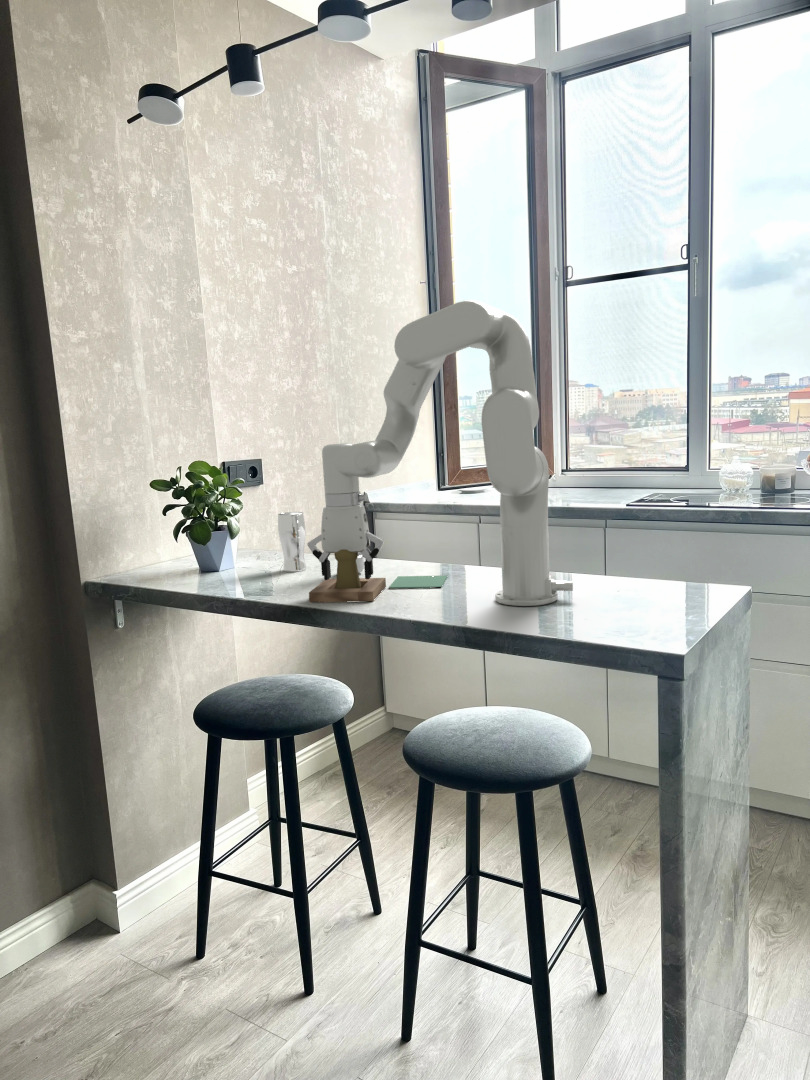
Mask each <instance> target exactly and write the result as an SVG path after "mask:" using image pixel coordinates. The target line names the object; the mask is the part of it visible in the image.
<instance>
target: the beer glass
mask: <svg viewBox="0 0 810 1080" xmlns="http://www.w3.org/2000/svg"><path fill="white" fill-rule="evenodd" d="M277 529H278V530H277V531H278V538H279V542H280V546H281V550H282V554H283V567H282V569H283V570H282V571H283V572H286V573H296V572H303V571H306V570H307V565H306V561H305V542H306V524H305V517H304V512H303V511H288V512H280V513H278V514H277Z"/></svg>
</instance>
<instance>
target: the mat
mask: <svg viewBox="0 0 810 1080" xmlns="http://www.w3.org/2000/svg"><path fill="white" fill-rule="evenodd" d="M432 576H434V577H432ZM447 576H448V575H447V574H446V575H412V576H411V575H403V576H402V575H401V576H399V575H398V576H397V577H396V578H395V579H394V580H393V582H392V583H391V584H390V585H389V586H388V589H389V588H423V589H431V588H430V587H442V588H443V586H444V584H445V583H446V581H447V579H448V577H447ZM446 578H447V579H446ZM445 580H446V581H445ZM444 582H445V583H444ZM442 585H443V586H442Z"/></svg>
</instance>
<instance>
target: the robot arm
mask: <svg viewBox="0 0 810 1080" xmlns="http://www.w3.org/2000/svg"><path fill="white" fill-rule="evenodd" d="M393 345H394V352H395V355H396V357H397V359H398V360H397V362H396V364H395V366H394V369H393V370H392V373H391V375H389V377H388V380H387V382H386V384H385V386H384V388H383V398H384V402H385V406H386V410H385V411H386V412H385V417H384V420H383V424H382V425H381V428H380V430H379V432H378V434H377V436H376V438H375V440H370V441H369V440H368V441H364V442H359V443H354V444H353V443H346V442H345V443H344V442H343V443H332V444H330V443H329V444H326V445H324V447H323V448H322V449H321V456H322V470H323V471H322V473H323V486H324V500H325V501H324V502H325V506H324V507H323V509H322V515H321V528H320V529H321V530H320V532H321V533H320V534H319V535H318V536H316V537H315V538H314V539H313V538H312V539H311V540H310V541H308V542H307V547H308V548H309V550H310V552H311V553H312V555H313V556H314V557H315V558H316V559H318V561H319V563H320V565H321V566H320V568H321V576H322V577H323V578H324V579H323V581H324V580H328V579H331V578H332V571H331V561H330V560H329V557H330V555H331V554H334V553H336V552H338V551H339V550H342V549H346V550H348V551H350V552H353V553H355V552H360V553H361V554H362V556H363V559H365V560H364V569H363V570H364V578H365V579H369V578H372V576H373V575H374V564H373V563H374V561H373V559H374V558H375V557H376V556H377V555H378V554H379V553H380V552H381V550H382V547H383V546H384V543H385V540H384V539H382V538H380V537H379V536H377V535H375V534H373V533H371V532H370V529H369V522H368V516H367V513H366V508H365V505H362V502H364V501H365V502H366V501H367V494H363V493H361V491H360V483H359V482H360V481H359V478H365V479H366V478H367V479H368V478H370V479H371V478H376V477H378V476H379V477H380V476H383V475H386V474H390V473H392V472H393V471H394V470H395V469H396V468H397V467H398V466H399V465H400V463H401V461H402V459H403V458H404V455H405V453H406V452H407V450H408V448H409V446H410V444H411V442H412V439H413V437H414V434H415V431H416V428H417V425H418V421H419V418H420V411H421V408H422V406H423V404H424V402H425V400H426V398H427V396H428V393H429V392H430V390H431V388H432V386H433V384H434V382H435V381H436V378H437V376H438V374H439V373H440V371H441V368H442V366H443V365H444V363H445V360H446V358H447V356H449V355H452V354H454V353H457V352H459V351H461V350H464V349H467V348H474V349H479V350H484V351H486V353H487V355H488V358H489V367H488V368H489V369H488V370H489V379H490V383H491V394H490V395H489V396H488V397H487V399H486V400H485V402H484V403H483V407H482V411H481V430H482V439H483V447H484V456H485V463H486V472H487V475H488V476H487V477H488V479H489V482H490V483H491V486H492V487H493V488H494V489H495V490H496V491H497V492H498V493H500V500H499V503H500V504H499V519H500V520H499V522H500V524H499V526H500V554H501V555H500V556H501V577H502V579H501V580H502V581H501V582H502V590H500V591H497V592H496V593H495V595H494V596H495V598H494V600H495V601H496V602H497V603H499V604H502V605H508V606H515V607H516V606H517V607H533V606H534V607H535V606H542V605H548V604H552V603H554V602H556V601H557V600H558V599H559V596H558V591H559V592H561V591H563V592H573V590H574V588H573V587H574V586H573V585H574V584H573V581H567V580H555V579H552V575H551V574H550V551H549V550H550V549H549V548H550V547H549V544H550V543H549V484H550V483H549V482H550V481H549V479H550V472H549V470H550V469H549V463H548V459H547V458H546V455H545V454H544V452H543V451H542V450H541V449H540V448H539V447H537V446H535V437H534V436H535V435H534V429H535V428H536V426H537V425H538V422H539V419H540V408H539V403H538V397H537V394H538V393H537V387H536V378H535V372H534V364H533V357H532V349H531V344H530V340H529V336H528V334H527V332H526V330H525V328H524V326H523V325H522V323H520V321H519V320H518V319H517V318H515V317H514V316H513V315H511V314H509V313H507V312H505V311H503V310H501V309H499V308H496V307H493V306H491V305H489V304H486V303H484V302H482V301H479V300H474V299H467V300H466V299H465V300H462V301H459V302H458V301H457V302H455V303H453V304H451V305H448V306H446V307H444V308H441V309H439V310H437V311H433V312H432V313H430V314H426V315H425V316H422V317H419V318H418V319H415V320H412V321H411V322H409V323H407V324H406V325H404V326H403V327H402V328H401V329H400V330H399V331H398V333H397V335H396V336H395V339H394V344H393ZM320 542H321V549H322V551H321V550H320V549H319V548H318V547H317V544H318V543H320ZM371 542H373V543H374V544H375V546H374V548H373V549H372V551H371V550H370V549H369V548H370V547H371Z"/></svg>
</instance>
